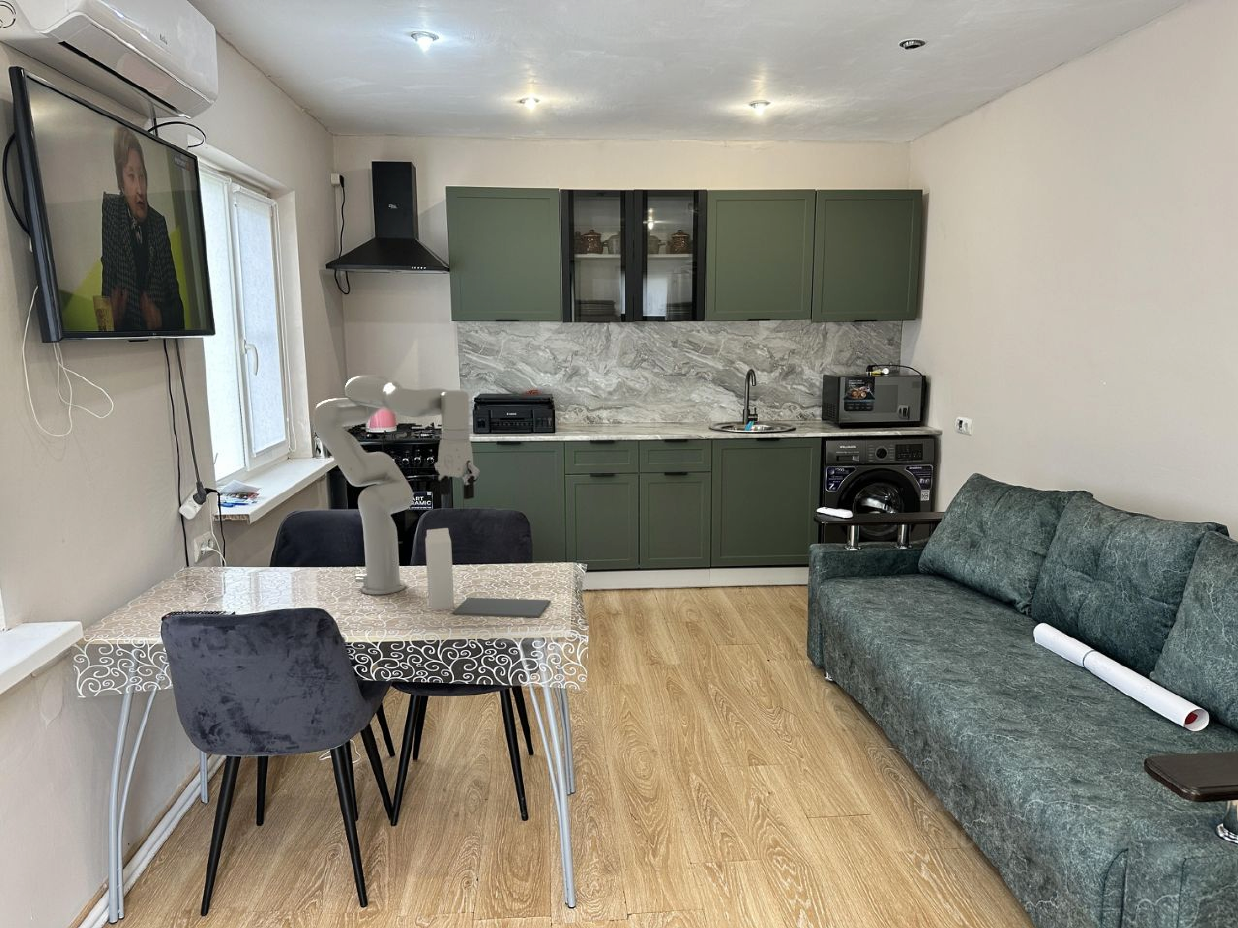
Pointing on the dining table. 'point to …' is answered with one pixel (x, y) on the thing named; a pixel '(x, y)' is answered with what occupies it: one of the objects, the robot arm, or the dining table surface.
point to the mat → (502, 607)
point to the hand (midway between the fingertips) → (456, 496)
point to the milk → (439, 569)
